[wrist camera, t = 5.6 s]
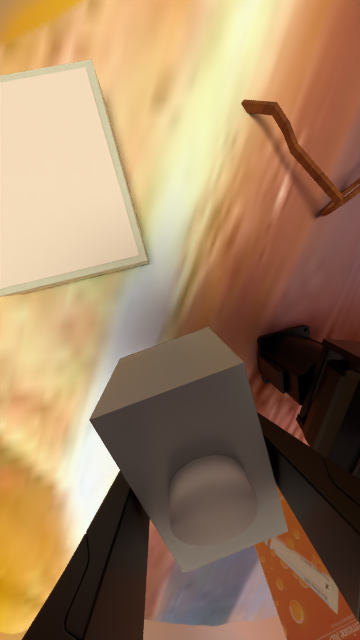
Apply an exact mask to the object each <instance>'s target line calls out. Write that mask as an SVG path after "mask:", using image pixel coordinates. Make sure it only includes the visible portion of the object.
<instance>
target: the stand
mask: <svg viewBox="0 0 360 640" xmlns="http://www.w3.org/2000/svg"><path fill="white" fill-rule="evenodd" d="M148 263H149V261H148V257H147V253H146V250H145V246H144V242H143V239H142V235H141V232H140V228H139V224H138V221H137V217H136V213H135V210H134V206H133V202H132V199H131V195H130V191H129V188H128V184H127V181H126V177H125V173H124V170H123V166H122V162H121V159H120V155H119V151H118V148H117V144H116V140H115V137H114V133H113V130H112V126H111V122H110V119H109V115H108V111H107V108H106V104H105V101H104V97H103V94H102V91H101V88H100V85H99V82H98V78H97V75H96V72H95V69H94V66H93V62H92V59H91V60H85V61H80V62H74V63H69V64H63V65H58V66H52V67H46V68H41V69H35V70H30V71H24V72H18V73H13V74H7V75H2V76H0V297H3V296H12V295H20V294H25V293H29V292H33V291H37V290H41V289H45V288H49V287H54V286H58V285H62V284H66V283H70V282H74V281H78V280H82V279H86V278H90V277H94V276H99V275H103V274H107V273H111V272H115V271H119V270H123V269H127V268H131V267H135V266H140V265H144V264H148Z"/></svg>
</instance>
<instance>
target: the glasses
mask: <svg viewBox="0 0 360 640" xmlns="http://www.w3.org/2000/svg"><path fill="white" fill-rule="evenodd" d="M242 106H243V107H244V109H245V110H246V112H247V113H255V114H264V115H272V116H273V118H274V119H275V121H276V123H277V124H278V126H279V128H280V129H281V131H282V133H283V135H284V137H285V140H286V142H287V145H288V148H289V150H290V153H291V154H292V155H293V156H294V157H295V159H296V160H297V161H298V162H299V163H300V164H301V165H302V166H303V168H304V169H305V170H306V171H307V172H308V173H309V174H310V176H311V177H312V178H313V179H314V180H315V181H316V182H317V184H318V185H319V186H320V187H321V188H322V189H323V190H324V192H325V193H326V194H327V195H328V196H329V197H330V198H331V199H332V202H331V203H330V204H329V205H327V206H326V207H325V208H324V209H323V210H322V212H321V213H320V214H321V215H322V216H326V215H328V214H329V213H331V212H333V211H334V210H336V209H337V208H339V207H340V206H342V205H343V204H345V203H346V202H347V201H349V200H350V199H352V198H353V197H354V196H356V195H357V194H358V193H359V192H360V186H358V187H357V188H356V189H355V190H353V191H352V192H351V193H350V194H348V195H347V196H346V197H344V196H345V195H346V194H347V193H348V192H349V191H351V190H352V189H353V188H354V187H356V186H357V185H358V184H360V178H359V179H358V180H357V181H355V182H354V183H353V184H351V185H350V186H349V187H348V188H346V189H345V190H344V191H343V192H342V193H341V192H340V191H339V190H338V189H337V188H336V187H335V185H334V184H333V183H332V182H331V181H330V180H329V178H328V177H327V176H326V175H325V174H324V173H323V172H322V170H321V169H320V168H319V167H318V166H317V165H316V164H315V162H314V161H313V160H312V159H311V158H310V157H309V156H308V154H307V153H306V152H305V151H304V150H303V149H302V148H301V146H300V145H299V144H298V142H297V140H296V137H295V134H294V132H293V129H292V127H291V124H290V122H289V120H288V119H287V117H286V115H285V114H284V112H283V111H282V109H281V108H280V106H279V105H278V103H277V102H267V101H255V100H244V101H243V102H242ZM334 204H335V205H334Z"/></svg>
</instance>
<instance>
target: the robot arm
mask: <svg viewBox="0 0 360 640" xmlns="http://www.w3.org/2000/svg"><path fill="white" fill-rule="evenodd" d="M304 328H305V329H304ZM262 340H263V342H261V341H262ZM257 342H258V350H259V355H258V359H259V367H260V373H261V374H262V380H263V381H264V382H265V383H272V384H273V385H274V386H275V387H276V388H277V389H278V390H279V391H280V392H282V393H287V394H288V395H289V396H291V397H292V398H293V399H294V400H295V401H296V402H297V403H298V404H299V405H302V408H301V410H300V413H299V414H298V415H297V418H296V420H297V422H298V424H299V426H300V428H301V429H302V431H303V433H304V437H305V439H306V441H307V443H308V444H309V446H310V447H309V446H308V445H306V444H305V443H303V442H302V441H300V440H298V439H297V438H295V437H294V436H292V435H291V434H289V433H288V432H286V431H285V430H283V429H282V428H280V427H279V426H277V425H276V424H274V423H273V422H271V421H270V420H268V419H267V418H265V417H264V416H262V415H261V414H259V413H258V412H257V414H258V418H259V422H260V426H261V430H262V433H263V437H264V441H265V445H266V449H267V452H268V456H269V460H270V464H271V468H272V471H273V475H274V479H275V483H276V485H277V486H278V488H279V490H280V492H281V493H282V495H283V497H284V498H285V500H286V502H287V503H288V505H289V507H290V508H291V510H292V512H293V513H294V515H295V517H296V518H297V520H298V522H299V524H300V525H301V527H302V529H303V530H304V532H305V534H306V535H307V537H308V539H309V540H310V542H311V544H312V545H313V547H314V549H315V550H316V552H317V554H318V555H319V557H320V559H321V561H322V562H323V564H324V566H325V567H326V569H327V571H328V572H329V574H330V576H331V577H332V579H333V581H334V582H335V584H336V586H337V587H338V589H339V591H340V592H341V594H342V596H343V598H344V599H345V601H346V603H347V604H348V606H349V608H350V609H351V611H352V613H353V614H354V616H355V618H356V619H357V621H358V622H359V625H360V342H355V341H344V340H334V339H323V342H322V343H321V342H318V341H316V340H313V339H311V338H310V332H309V327H308V326H306V325H301V326H297V327H294V328H290V329H286V330H283V331H279V332H275V333H272V334H268V335H265V336H261V337H259V338H258V341H257ZM266 379H267V380H266ZM149 522H150V518H149V516H148V514H147V513H146V511H145V510H144V508H143V506H142V505H141V503H140V501H139V500H138V498H137V497H136V495H135V493H134V492H133V490H132V488H131V487H130V485H129V484H128V482H127V480H126V479H125V477H124V475H123V474H122V472H121V471H119V473H118V475H117V477H116V478H115V480H114V482H113V484H112V486H111V488H110V489H109V491H108V493H107V495H106V497H105V498H104V500H103V502H102V504H101V506H100V508H99V509H98V511H97V513H96V515H95V517H94V518H93V520H92V522H91V524H90V526H89V528H88V529H87V531H86V534H85V535H84V536H83V538H82V540H81V542H80V544H79V546H78V547H77V549H76V551H75V553H74V554H73V556H72V558H71V560H70V561H69V563H68V565H67V567H66V568H65V570H64V572H63V573H62V575H61V577H60V578H59V580H58V582H57V583H56V585H55V587H54V588H53V590H52V592H51V593H50V595H49V597H48V598H47V600H46V601H45V603H44V605H43V606H42V608H41V609H40V611H39V613H38V614H37V616H36V617H35V619H34V621H33V622H32V624H31V626H30V627H29V629H28V630H27V632H26V634H25V635H24V637H23V638H22V640H143V629H144V611H145V593H146V576H147V558H148V540H149Z"/></svg>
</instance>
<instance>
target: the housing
mask: <svg viewBox="0 0 360 640" xmlns="http://www.w3.org/2000/svg"><path fill="white" fill-rule="evenodd" d="M90 422H91V423H92V425H93V427H94V428H95V430H96V432H97V433H98V435H99V436H100V438H101V440H102V441H103V443H104V445H105V446H106V448H107V449H108V451H109V453H110V454H111V456H112V458H113V459H114V461H115V462H116V464H117V466H118V467H119V469H120V471H121V472H122V474H123V475H124V477H125V479H126V480H127V482H128V484H129V485H130V487H131V488H132V490H133V492H134V493H135V495H136V497H137V498H138V500H139V501H140V503H141V505H142V506H143V508H144V510H145V511H146V513H147V514H148V516H149V518H150V519H151V521H152V523H153V524H154V526H155V527H156V529H157V531H158V532H159V534H160V536H161V537H162V539H163V540H164V542H165V544H166V545H167V547H168V549H169V550H170V552H171V553H172V555H173V557H174V558H175V560H176V562H177V563H178V565H179V566H180V568H181V570H182V571H183V573H186V572H189V571H191V570H194V569H196V568H198V567H201V566H203V565H206V564H208V563H211V562H213V561H216V560H218V559H221V558H223V557H226V556H228V555H231V554H233V553H236V552H238V551H241V550H243V549H246V548H248V547H251V546H253V545H256V544H258V543H261V542H263V541H266V540H268V539H270V538H273V537H275V536H278V535H280V534H283V533H285V532H288V528H287V524H286V521H285V517H284V513H283V509H282V505H281V502H280V498H279V494H278V490H277V486H276V483H275V479H274V475H273V471H272V468H271V464H270V460H269V456H268V452H267V449H266V445H265V441H264V437H263V433H262V430H261V426H260V422H259V418H258V414H257V411H256V407H255V403H254V399H253V395H252V392H251V388H250V384H249V380H248V377H247V373H246V369H245V365H244V362H243V361H242V360H241V359H240V358H239V357H238V356H237V355H236V354H235V353H234V352H233V351H232V350H231V349H230V348H229V347H228V346H227V345H226V344H225V343H224V342H223V341H222V340H221V339H220V338H219V337H218V336H217V335H216V334H215V333H214V332H213V331H212V330H211V329H210V328H209V327H206V328H203V329H200V330H198V331H195V332H192V333H189V334H187V335H184V336H181V337H178V338H176V339H173V340H170V341H167V342H165V343H162V344H159V345H156V346H154V347H151V348H148V349H145V350H143V351H140V352H137V353H134V354H132V355H129V356H126V357H123V358H121V359H120V360H119V362H118V364H117V366H116V368H115V370H114V372H113V374H112V376H111V378H110V380H109V382H108V384H107V386H106V388H105V390H104V392H103V394H102V396H101V398H100V400H99V402H98V404H97V406H96V408H95V410H94V412H93V414H92V416H91V418H90Z"/></svg>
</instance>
